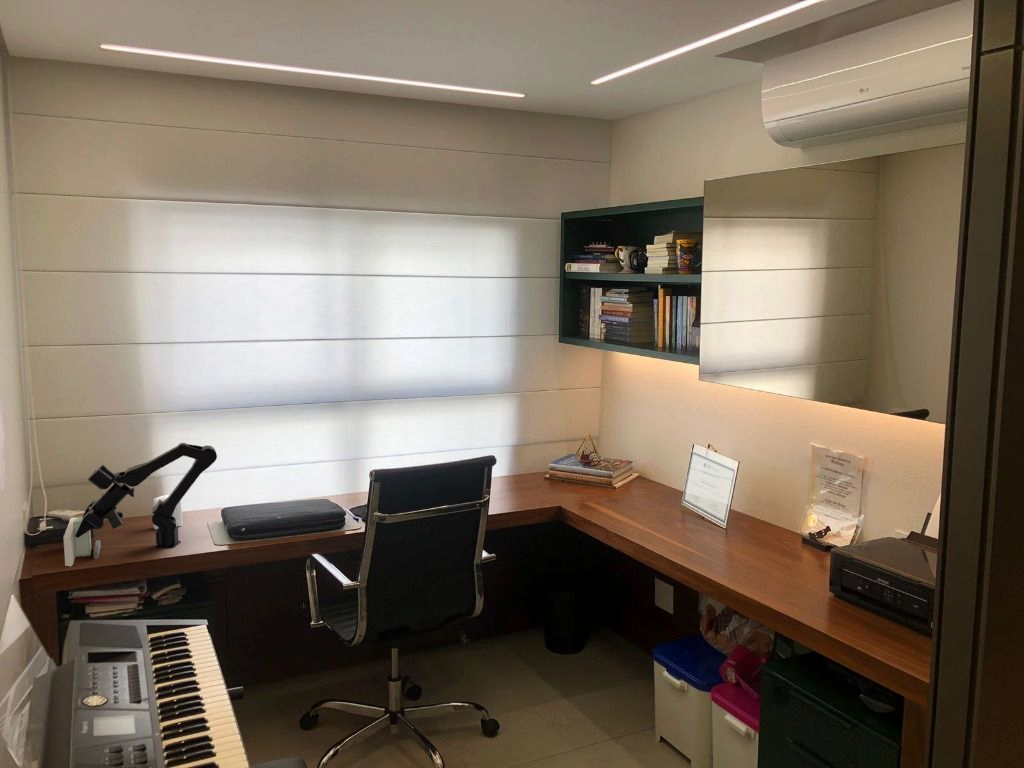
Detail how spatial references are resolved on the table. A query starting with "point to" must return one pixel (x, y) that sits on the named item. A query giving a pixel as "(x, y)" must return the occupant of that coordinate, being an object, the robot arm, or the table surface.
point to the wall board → (70, 547)
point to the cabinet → (81, 540)
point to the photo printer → (176, 513)
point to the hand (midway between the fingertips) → (77, 533)
